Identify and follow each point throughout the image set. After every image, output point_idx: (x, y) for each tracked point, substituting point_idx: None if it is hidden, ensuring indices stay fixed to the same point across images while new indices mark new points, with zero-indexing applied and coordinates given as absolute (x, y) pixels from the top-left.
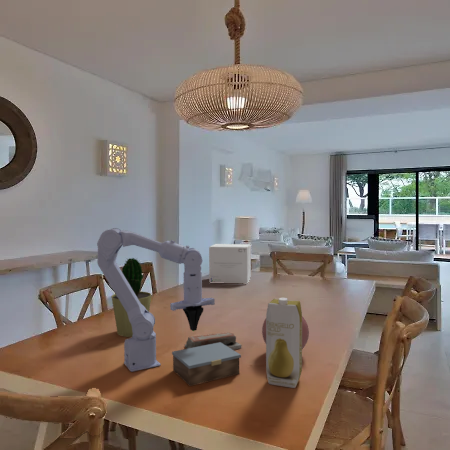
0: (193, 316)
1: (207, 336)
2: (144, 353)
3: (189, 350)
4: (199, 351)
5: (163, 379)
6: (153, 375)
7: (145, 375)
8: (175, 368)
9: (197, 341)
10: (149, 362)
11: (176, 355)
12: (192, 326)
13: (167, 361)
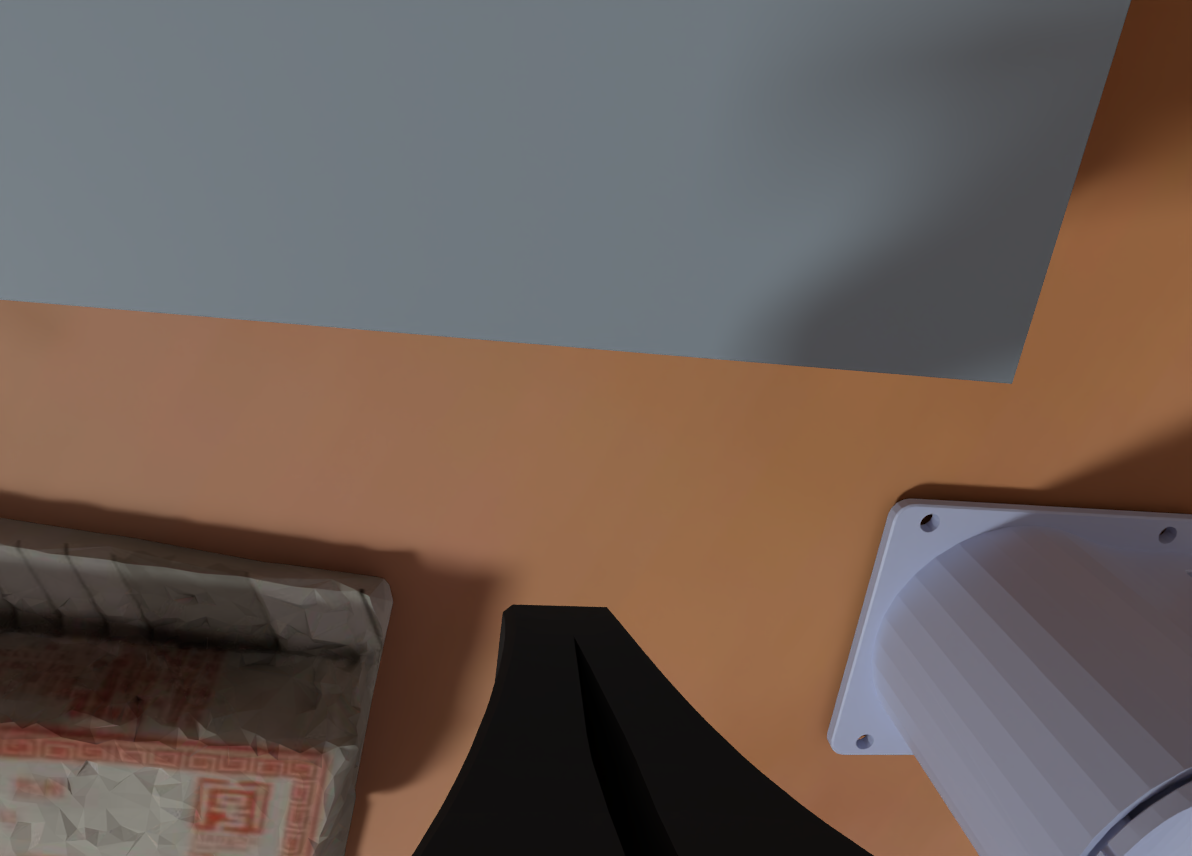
0: (759, 852)
1: (4, 837)
2: (1182, 623)
3: (767, 261)
4: (655, 93)
5: (1101, 129)
6: (1102, 308)
7: (1157, 360)
8: None
9: (260, 739)
10: (1044, 548)
11: (1069, 189)
12: (654, 664)
13: (751, 577)
